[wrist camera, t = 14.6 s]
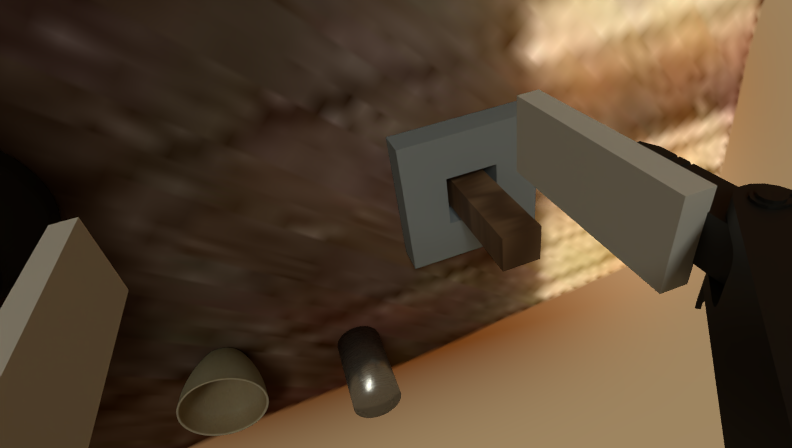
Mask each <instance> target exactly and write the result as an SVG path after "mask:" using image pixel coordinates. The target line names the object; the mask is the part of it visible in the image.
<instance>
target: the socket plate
mask: <svg viewBox="0 0 792 448" xmlns="http://www.w3.org/2000/svg"><path fill="white" fill-rule="evenodd" d="M386 140H387V146H388V152H389V157H390V163H391V168H392V174H393V180H394V185H395V191H396V197H397V202H398V208H399V213H400V219H401V225H402V230H403V236H404V241H405V247H406V252H407V254H408V256H409V258H410V259H411V261H412V263H413V265H414V267H415V269H417V268H420V267H423V266H426V265H429V264H432V263H435V262H438V261H441V260H444V259H447V258H450V257H453V256H456V255H459V254H462V253H465V252H468V251H471V250H474V249H477V248H480V247H483V246H482V244H481V243H480V242H479V241H478V239H477V238H476V237H475V236H474V234H473V233H472V232H471V231H470V229H469V228H468V227H467V226H466V224H465V223H464V222H463V221H462V219H461V218H460V217H459V216H458V214H457V213H456V212H455V211H454V209H453V208H452V207H451V206H450V204H449V202H448V192H447V182H446V179H449V178H452V177H456V176H459V175H462V174H466V173H469V172H472V171H476V170H479V169H482V170H484V171H485V172H486V173H487V174H488V175H489V176H490V177H491V178H492V179H493V180H494V181H495V182H496V183H497V184H498V185H499V186H500V187H501V188H502V189H503V190H504V191H505V192H506V193H507V194H508V195H510V196H511V197H512V198H513V199H514V200H515V201H516V202H517V203H518V204H519V205H520V206H521V207H522V208H523V209H524V210H525V211H526V212H527V213H528V214H529V215H530V216H531V217H532V218H533V219H534V220H535V192H536V187H534V186H533V185H532V184H531V183H530V182H529V181H527V180H526V179H525V178H524V177H523V176H522V175H520V174H519V173H518V172H517V101H515V102H511V103H508V104H504V105H501V106H497V107H493V108H490V109H486V110H483V111H479V112H476V113H472V114H468V115H465V116H461V117H458V118H454V119H450V120H447V121H443V122H440V123H436V124H432V125H429V126H425V127H422V128H418V129H415V130H411V131H407V132H404V133H400V134H397V135H393V136H389V137H386Z"/></svg>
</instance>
